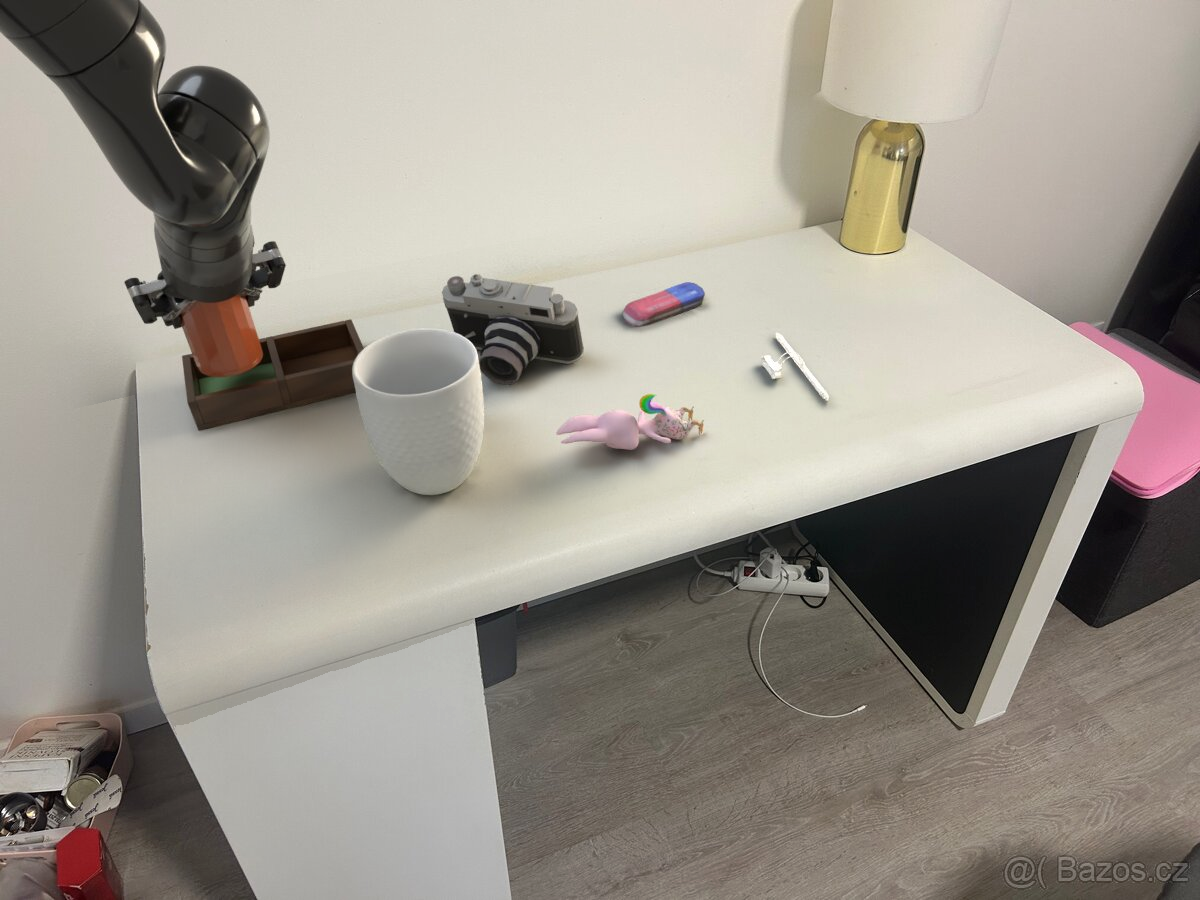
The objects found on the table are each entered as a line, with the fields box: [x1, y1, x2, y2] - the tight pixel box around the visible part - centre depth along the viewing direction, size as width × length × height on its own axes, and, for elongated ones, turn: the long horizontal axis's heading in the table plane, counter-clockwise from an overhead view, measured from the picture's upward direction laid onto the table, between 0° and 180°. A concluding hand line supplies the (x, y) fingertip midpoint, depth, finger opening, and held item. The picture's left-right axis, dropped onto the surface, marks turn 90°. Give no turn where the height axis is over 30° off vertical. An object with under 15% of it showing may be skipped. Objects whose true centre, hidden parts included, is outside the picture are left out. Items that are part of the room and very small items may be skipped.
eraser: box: [622, 281, 706, 328], centre depth 106 cm, size 11×4×2 cm, turn 123°
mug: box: [352, 327, 485, 496], centre depth 79 cm, size 15×11×13 cm
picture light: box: [760, 332, 830, 402], centre depth 95 cm, size 14×4×2 cm, turn 14°
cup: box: [179, 295, 263, 377], centre depth 87 cm, size 7×7×9 cm
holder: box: [181, 318, 365, 431], centre depth 93 cm, size 18×10×4 cm, turn 114°
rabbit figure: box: [555, 393, 706, 451], centre depth 83 cm, size 6×6×15 cm
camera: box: [441, 273, 585, 385], centre depth 93 cm, size 16×9×10 cm, turn 73°
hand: (210, 308), depth 87 cm, fingers closed on cup, 6 cm apart
